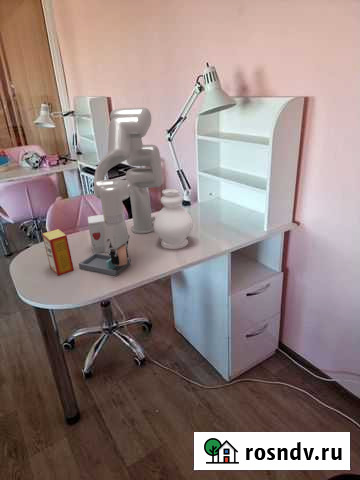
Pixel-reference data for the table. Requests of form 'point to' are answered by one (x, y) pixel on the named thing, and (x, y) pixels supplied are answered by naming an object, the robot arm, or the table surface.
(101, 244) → the supplement box
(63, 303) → the table surface
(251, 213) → the table surface
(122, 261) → the tan egg shape
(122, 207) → the robot arm
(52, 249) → the baking soda box
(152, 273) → the table surface
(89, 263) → the pusher lane
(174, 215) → the decorative vase
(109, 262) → the plate
